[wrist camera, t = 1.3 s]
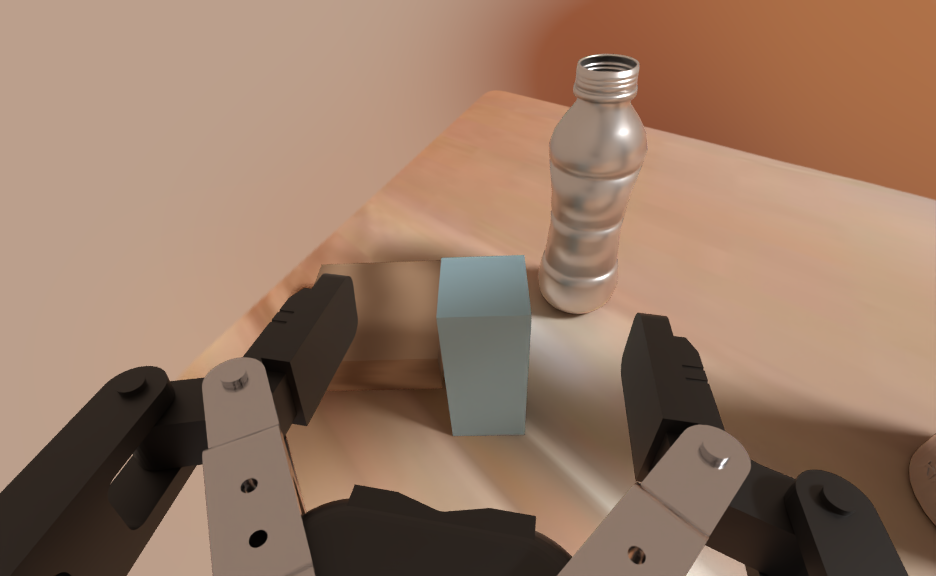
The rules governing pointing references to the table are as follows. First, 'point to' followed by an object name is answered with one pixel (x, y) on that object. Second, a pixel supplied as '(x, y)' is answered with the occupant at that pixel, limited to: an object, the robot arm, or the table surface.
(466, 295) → the blue block
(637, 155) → the plastic bottle
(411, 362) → the walnut block
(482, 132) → the table surface
